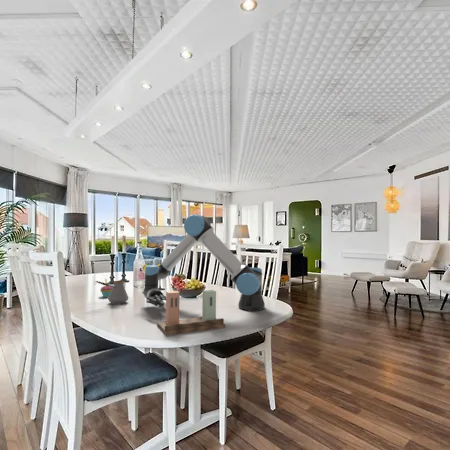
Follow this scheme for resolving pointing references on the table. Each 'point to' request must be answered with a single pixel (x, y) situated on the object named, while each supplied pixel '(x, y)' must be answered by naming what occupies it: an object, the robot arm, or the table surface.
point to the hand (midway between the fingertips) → (167, 305)
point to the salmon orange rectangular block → (172, 307)
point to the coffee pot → (117, 292)
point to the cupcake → (106, 290)
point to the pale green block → (209, 305)
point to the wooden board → (190, 326)
